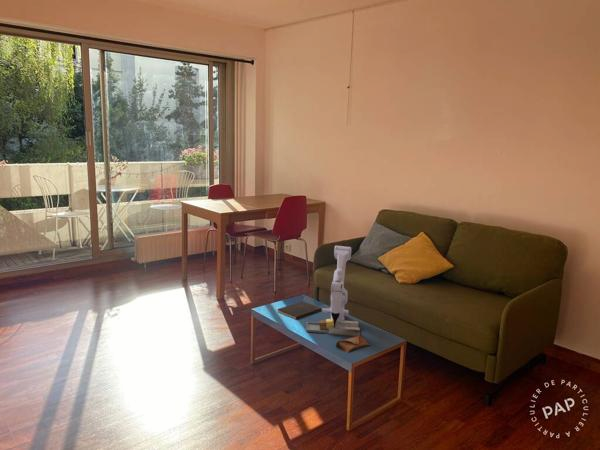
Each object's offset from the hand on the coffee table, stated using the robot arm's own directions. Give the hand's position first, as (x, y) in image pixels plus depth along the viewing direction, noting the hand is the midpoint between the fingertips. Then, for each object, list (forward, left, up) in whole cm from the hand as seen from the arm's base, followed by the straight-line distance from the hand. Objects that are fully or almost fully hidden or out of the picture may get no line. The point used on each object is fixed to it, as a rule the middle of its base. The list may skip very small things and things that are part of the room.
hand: (334, 325), depth 264 cm
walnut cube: (0, -6, -2) cm, 6 cm away
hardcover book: (-25, -21, -4) cm, 33 cm away
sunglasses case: (+19, +10, -4) cm, 21 cm away
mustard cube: (0, -2, -1) cm, 2 cm away
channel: (0, +5, -3) cm, 6 cm away
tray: (0, -10, -3) cm, 10 cm away
